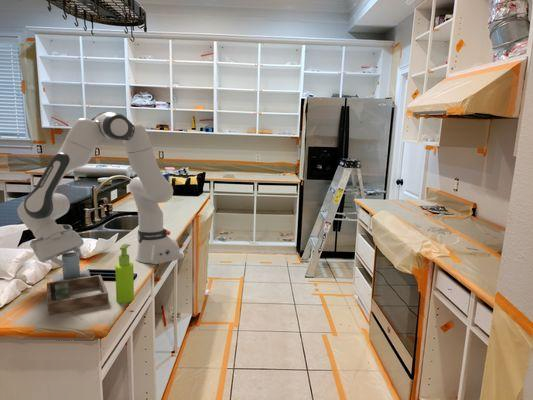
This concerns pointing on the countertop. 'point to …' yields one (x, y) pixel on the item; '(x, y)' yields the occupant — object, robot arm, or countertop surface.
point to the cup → (71, 265)
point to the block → (62, 291)
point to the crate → (77, 301)
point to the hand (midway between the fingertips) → (72, 261)
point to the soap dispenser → (124, 277)
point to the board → (60, 278)
